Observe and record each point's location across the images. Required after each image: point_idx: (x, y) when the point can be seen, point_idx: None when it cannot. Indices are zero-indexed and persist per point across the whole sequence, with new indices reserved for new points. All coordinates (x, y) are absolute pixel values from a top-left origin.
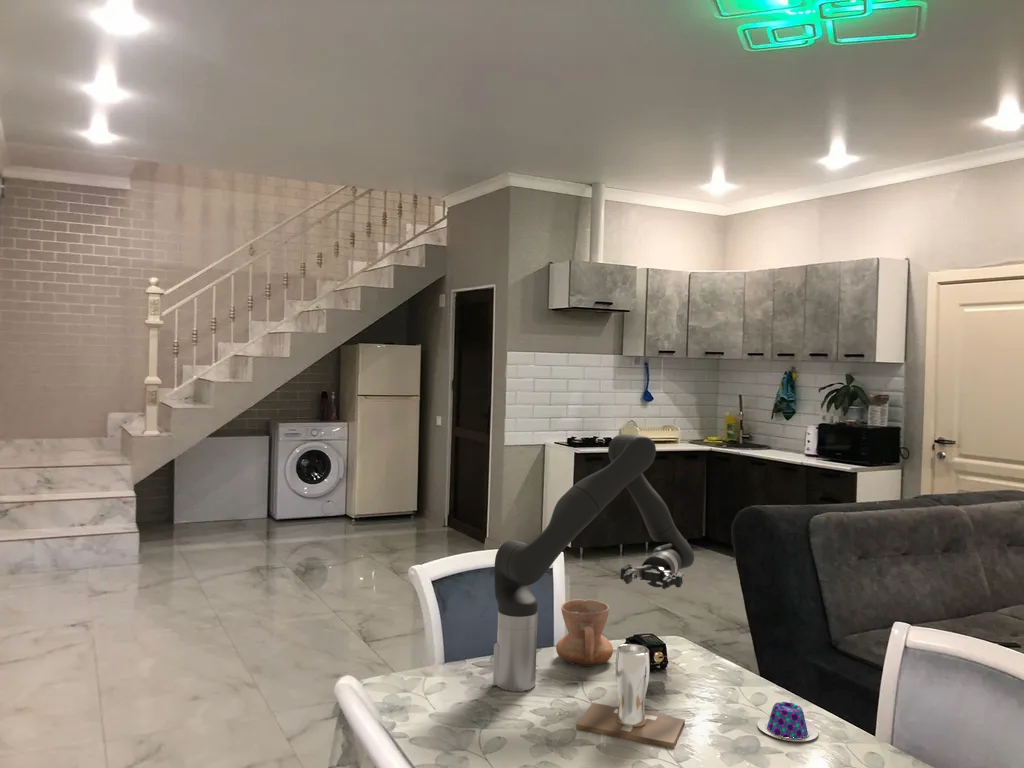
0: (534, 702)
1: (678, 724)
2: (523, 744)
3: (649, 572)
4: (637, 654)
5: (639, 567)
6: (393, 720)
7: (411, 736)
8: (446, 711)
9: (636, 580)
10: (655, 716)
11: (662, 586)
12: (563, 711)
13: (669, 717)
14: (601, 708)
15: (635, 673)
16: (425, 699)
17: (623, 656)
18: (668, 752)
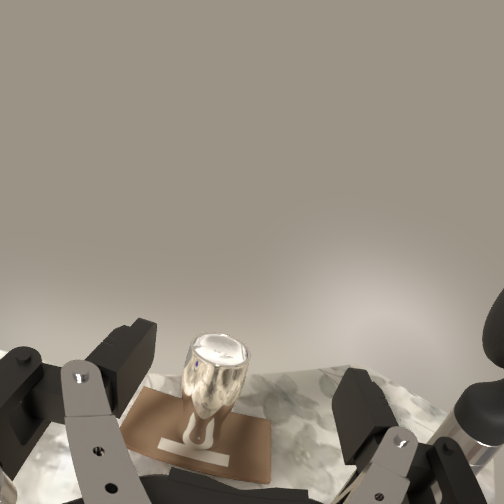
0: (350, 472)
1: (127, 426)
2: (305, 390)
3: (261, 489)
4: (210, 332)
5: (378, 485)
6: (417, 397)
7: (387, 383)
8: (404, 421)
9: (332, 502)
10: (160, 448)
11: (153, 350)
12: (303, 461)
13: (137, 445)
14: (251, 465)
15: (207, 356)
16: (435, 431)
17: (233, 342)
18: (151, 384)
